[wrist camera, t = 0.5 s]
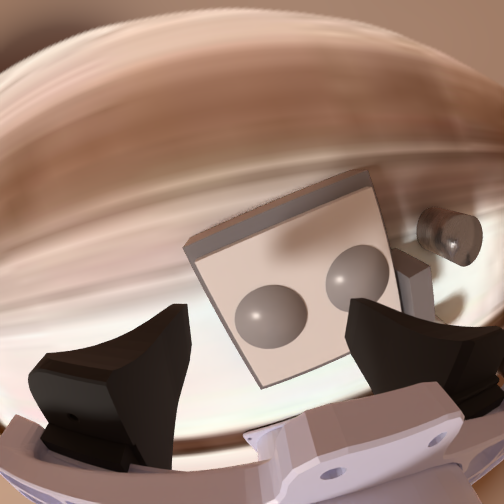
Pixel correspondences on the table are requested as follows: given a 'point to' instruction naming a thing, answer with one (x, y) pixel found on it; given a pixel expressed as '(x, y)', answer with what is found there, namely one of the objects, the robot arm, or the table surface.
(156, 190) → the table surface
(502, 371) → the supplement bottle
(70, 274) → the table surface
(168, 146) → the table surface
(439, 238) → the cylinder
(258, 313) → the scale
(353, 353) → the robot arm
